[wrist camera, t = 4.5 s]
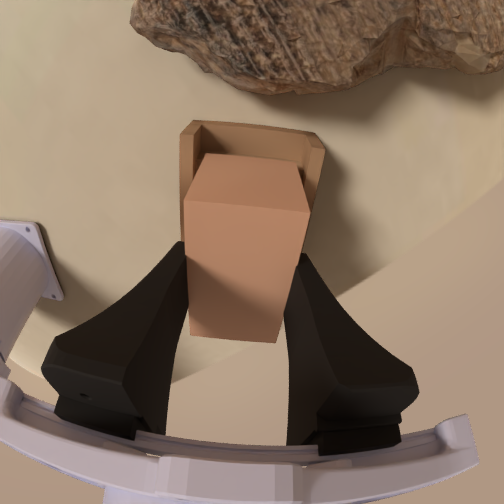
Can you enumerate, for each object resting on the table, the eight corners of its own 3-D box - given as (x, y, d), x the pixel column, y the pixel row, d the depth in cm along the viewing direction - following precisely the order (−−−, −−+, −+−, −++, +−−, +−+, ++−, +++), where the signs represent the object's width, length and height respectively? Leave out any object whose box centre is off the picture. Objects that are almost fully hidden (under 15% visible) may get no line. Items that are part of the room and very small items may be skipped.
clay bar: (273, 278, 17) (275, 343, 14) (203, 271, 17) (190, 335, 13) (295, 162, 13) (310, 213, 9) (206, 153, 13) (183, 200, 9)
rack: (286, 267, 20) (289, 298, 17) (192, 258, 19) (183, 288, 17) (314, 132, 14) (325, 149, 12) (193, 120, 14) (179, 134, 12)
